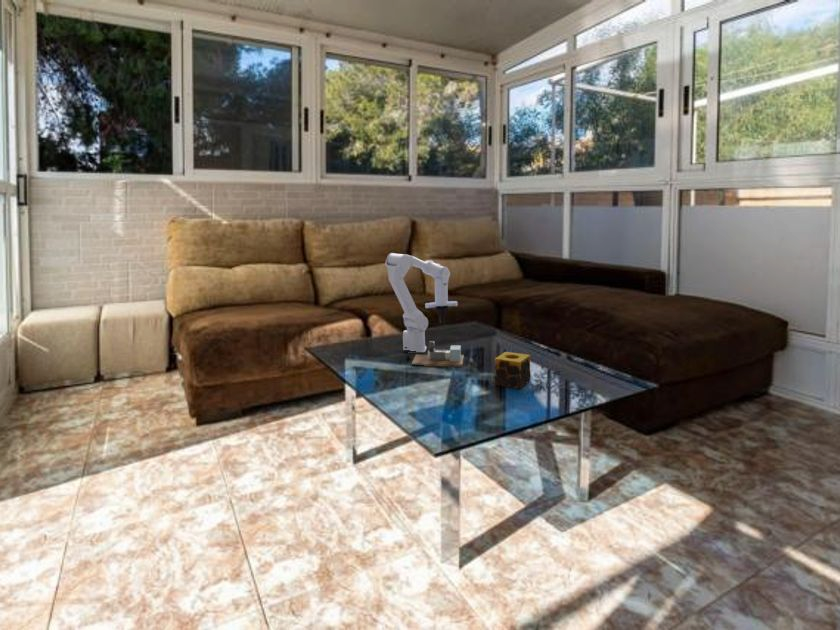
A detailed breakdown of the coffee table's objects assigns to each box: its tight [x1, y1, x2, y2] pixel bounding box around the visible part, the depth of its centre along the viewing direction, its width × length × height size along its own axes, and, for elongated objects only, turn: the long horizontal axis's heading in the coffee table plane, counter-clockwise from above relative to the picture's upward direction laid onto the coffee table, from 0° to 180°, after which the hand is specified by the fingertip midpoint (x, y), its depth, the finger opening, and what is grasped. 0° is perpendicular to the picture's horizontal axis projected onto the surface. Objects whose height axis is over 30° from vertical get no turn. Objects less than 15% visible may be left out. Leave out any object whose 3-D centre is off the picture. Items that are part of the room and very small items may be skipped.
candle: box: [493, 351, 531, 390], centre depth 199 cm, size 10×10×10 cm
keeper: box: [449, 344, 462, 362], centre depth 226 cm, size 4×6×5 cm, turn 172°
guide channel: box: [430, 348, 447, 361], centre depth 227 cm, size 6×5×4 cm
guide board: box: [411, 354, 465, 367], centre depth 227 cm, size 20×12×1 cm, turn 82°
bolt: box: [427, 340, 450, 360], centre depth 226 cm, size 12×3×7 cm, turn 82°
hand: (441, 322), depth 252 cm, fingers closed
